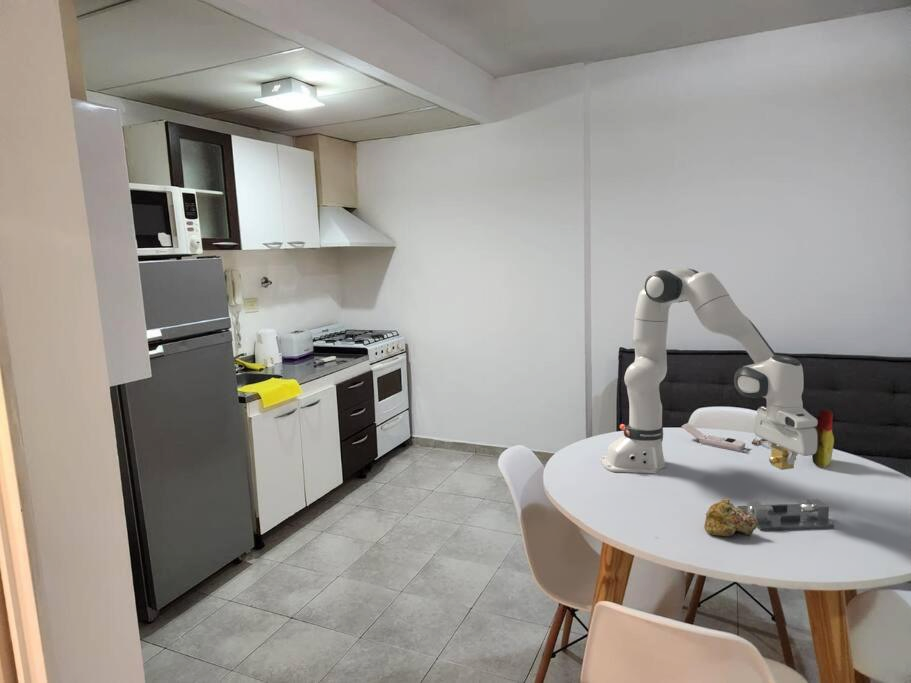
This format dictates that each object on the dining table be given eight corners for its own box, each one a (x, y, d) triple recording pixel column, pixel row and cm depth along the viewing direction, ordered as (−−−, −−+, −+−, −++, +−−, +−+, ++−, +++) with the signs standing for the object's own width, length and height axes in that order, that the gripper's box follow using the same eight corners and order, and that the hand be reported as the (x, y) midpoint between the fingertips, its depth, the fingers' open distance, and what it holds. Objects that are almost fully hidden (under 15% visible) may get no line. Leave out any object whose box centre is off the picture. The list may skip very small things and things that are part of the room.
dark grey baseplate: (759, 530, 155) (760, 513, 154) (736, 509, 168) (737, 493, 167) (835, 528, 155) (836, 510, 154) (805, 506, 168) (806, 490, 167)
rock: (741, 549, 155) (762, 521, 152) (730, 555, 149) (752, 527, 146) (704, 518, 162) (723, 491, 159) (692, 523, 156) (712, 496, 153)
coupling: (776, 470, 160) (777, 451, 159) (766, 465, 163) (766, 447, 163) (798, 467, 161) (799, 448, 160) (788, 462, 165) (788, 444, 164)
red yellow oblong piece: (830, 471, 192) (834, 414, 189) (808, 467, 196) (812, 411, 193) (833, 460, 201) (837, 406, 198) (812, 456, 205) (816, 403, 202)
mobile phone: (686, 422, 231) (752, 434, 214) (686, 436, 232) (751, 449, 215) (680, 426, 227) (746, 439, 209) (679, 440, 228) (745, 454, 210)
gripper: (748, 405, 169) (747, 449, 171) (802, 424, 149) (800, 474, 151) (767, 403, 170) (766, 447, 172) (822, 422, 150) (820, 471, 153)
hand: (782, 460), depth 162 cm, fingers closed on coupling, 4 cm apart
